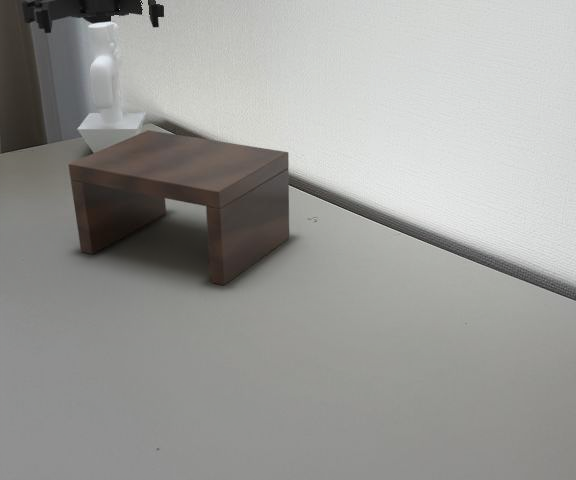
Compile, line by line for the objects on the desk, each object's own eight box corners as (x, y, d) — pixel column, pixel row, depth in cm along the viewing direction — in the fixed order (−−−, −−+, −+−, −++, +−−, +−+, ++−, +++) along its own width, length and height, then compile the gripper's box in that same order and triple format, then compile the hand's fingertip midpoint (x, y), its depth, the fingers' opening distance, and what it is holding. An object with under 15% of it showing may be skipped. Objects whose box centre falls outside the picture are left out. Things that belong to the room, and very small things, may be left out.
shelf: (80, 251, 82) (67, 163, 78) (155, 211, 91) (148, 129, 87) (223, 285, 76) (218, 191, 71) (289, 238, 85) (288, 151, 80)
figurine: (79, 162, 105) (60, 30, 97) (95, 139, 113) (79, 16, 105) (138, 161, 105) (125, 30, 97) (150, 138, 113) (138, 15, 105)
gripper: (185, 16, 132) (201, 44, 114) (15, 25, 128) (5, 55, 110) (181, -38, 128) (197, -18, 110) (6, -31, 124) (-7, -9, 106)
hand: (101, 18), depth 110 cm, fingers open, 13 cm apart
